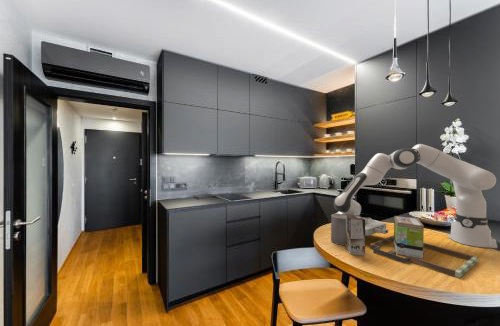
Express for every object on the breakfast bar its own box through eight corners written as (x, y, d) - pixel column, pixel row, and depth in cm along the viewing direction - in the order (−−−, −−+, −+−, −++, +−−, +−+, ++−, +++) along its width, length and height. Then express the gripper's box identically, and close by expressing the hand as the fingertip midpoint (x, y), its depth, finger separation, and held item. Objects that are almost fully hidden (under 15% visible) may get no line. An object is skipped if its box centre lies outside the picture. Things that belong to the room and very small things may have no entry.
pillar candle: (338, 237, 121) (338, 210, 121) (354, 242, 113) (355, 213, 113) (327, 240, 116) (327, 212, 116) (343, 246, 108) (344, 216, 108)
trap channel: (393, 238, 120) (393, 235, 120) (477, 261, 92) (477, 257, 92) (365, 249, 104) (365, 245, 104) (456, 281, 77) (456, 275, 77)
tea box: (424, 259, 94) (424, 225, 94) (396, 254, 99) (396, 222, 99) (417, 247, 108) (417, 217, 108) (393, 243, 112) (393, 215, 112)
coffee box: (365, 255, 98) (365, 219, 98) (350, 254, 99) (350, 219, 99) (359, 248, 107) (359, 214, 106) (345, 246, 108) (345, 214, 108)
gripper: (349, 222, 117) (376, 229, 106) (370, 217, 128) (396, 222, 117) (349, 234, 117) (376, 242, 106) (370, 227, 128) (396, 234, 117)
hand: (386, 231), depth 111 cm, fingers closed
